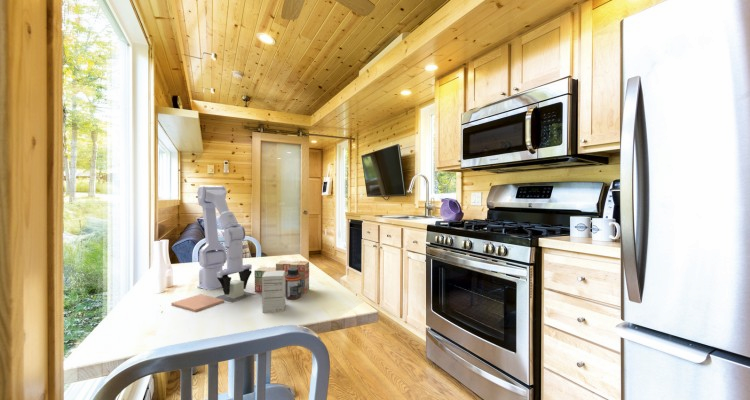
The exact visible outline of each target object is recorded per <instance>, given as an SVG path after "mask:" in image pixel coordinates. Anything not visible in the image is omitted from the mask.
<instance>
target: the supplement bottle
mask: <svg viewBox="0 0 750 400" xmlns="http://www.w3.org/2000/svg"><path fill="white" fill-rule="evenodd" d="M285 285H286V293H285V299H288V300H297V299H299V298H301V297H302V294H301V275H300V274H299V273H298V268H289V269H288V274H287V275H286V276H285Z"/></svg>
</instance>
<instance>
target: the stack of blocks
mask: <svg viewBox="0 0 750 400" xmlns="http://www.w3.org/2000/svg"><path fill="white" fill-rule="evenodd" d="M289 268H298V273H299V274H300V275H301V295H305V294H306V293H307V292H309V290H310V261H305V260H303V261H302V260H280V261H277V262H276V263H275V266H274V267H273V266H272V267H271V266H269V267H268V266H260V267H258V268H257V269H255V270H254V292H255V293H262V276H263V274H264V272H265V271H285V276H286V275H287V274H288V269H289ZM285 294H286V285H285Z"/></svg>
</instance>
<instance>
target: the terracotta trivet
mask: <svg viewBox="0 0 750 400" xmlns="http://www.w3.org/2000/svg"><path fill="white" fill-rule="evenodd" d="M224 302H225V301H224V300H223V299H219V298H215V297H214V296H211V295H206V294H202V293H200V294H196V295H193V296H190V297H187V298H183V299H179V300H176V301H173V302H171V306H174V307H176V308H181V309H183V310H186V311H187V310H188V311H190V312H193V313H194V312H195V313H196V312H199V311H200V312H201V311H202V310H205V309H208V308H210V307H214V306H217V305H219V304H220V305H221V304H222V303H223V304H224Z"/></svg>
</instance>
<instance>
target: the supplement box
mask: <svg viewBox="0 0 750 400" xmlns="http://www.w3.org/2000/svg"><path fill="white" fill-rule="evenodd" d="M261 297H262V298H261V301H262V303H261V304H262V310H261V311H262V313H275V312H276V313H277V312H278V313H279V312H284V311H285V309H286V308H285V307H286V303H287V302H286V293H285V271H265V272H264V274H263V276H262V292H261Z"/></svg>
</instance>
